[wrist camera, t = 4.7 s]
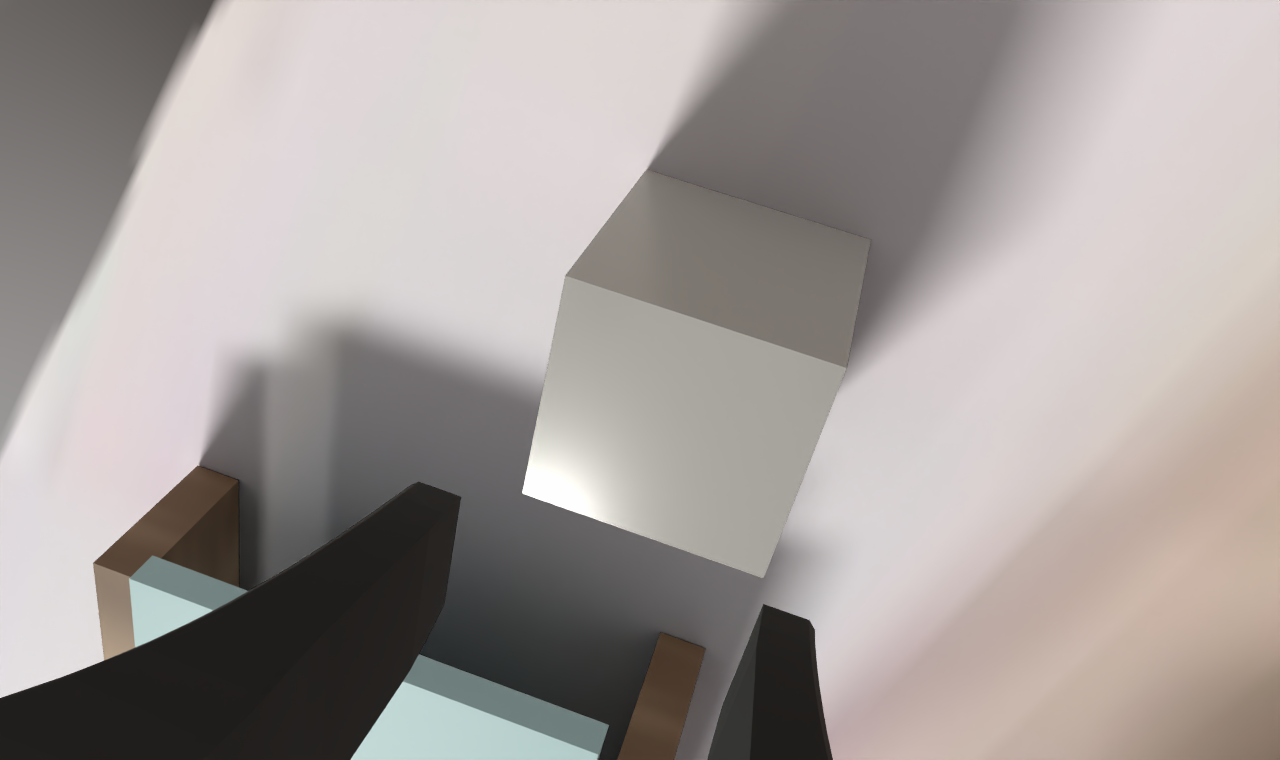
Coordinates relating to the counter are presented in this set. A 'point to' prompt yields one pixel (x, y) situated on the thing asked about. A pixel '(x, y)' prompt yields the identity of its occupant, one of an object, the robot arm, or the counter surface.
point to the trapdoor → (421, 707)
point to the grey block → (695, 369)
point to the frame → (209, 544)
